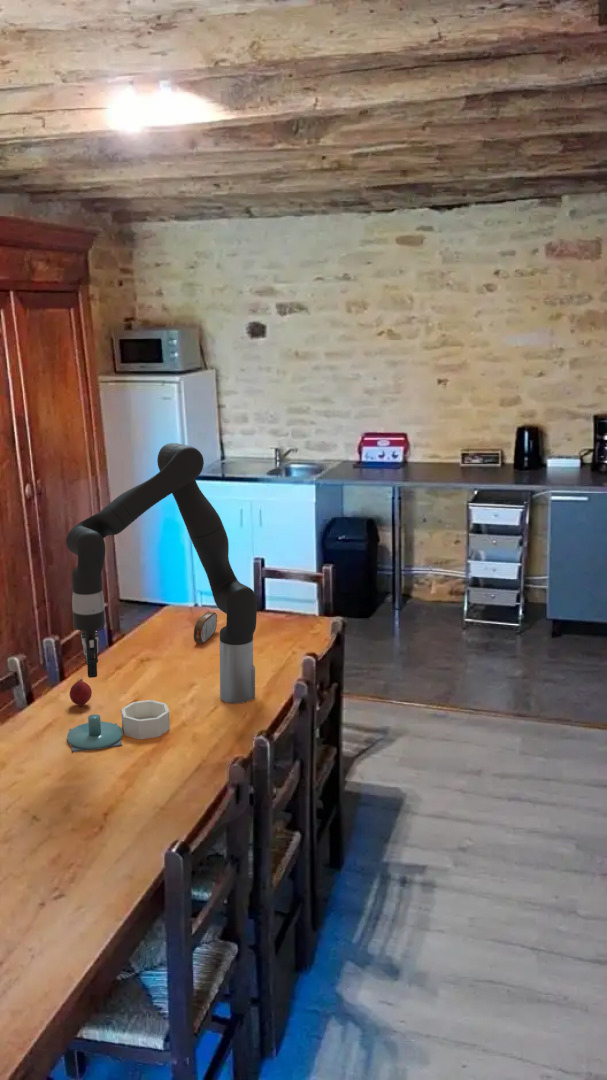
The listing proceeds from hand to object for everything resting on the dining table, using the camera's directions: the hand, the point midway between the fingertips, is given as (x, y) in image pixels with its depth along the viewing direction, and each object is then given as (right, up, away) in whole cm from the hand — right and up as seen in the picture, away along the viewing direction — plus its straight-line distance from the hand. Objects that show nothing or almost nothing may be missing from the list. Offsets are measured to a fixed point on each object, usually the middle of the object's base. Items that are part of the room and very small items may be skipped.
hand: (91, 670), depth 219 cm
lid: (0, -17, +4) cm, 18 cm away
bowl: (+12, -16, +10) cm, 23 cm away
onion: (-8, -13, +22) cm, 27 cm away
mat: (0, -18, +4) cm, 18 cm away
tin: (+20, -1, +73) cm, 76 cm away
